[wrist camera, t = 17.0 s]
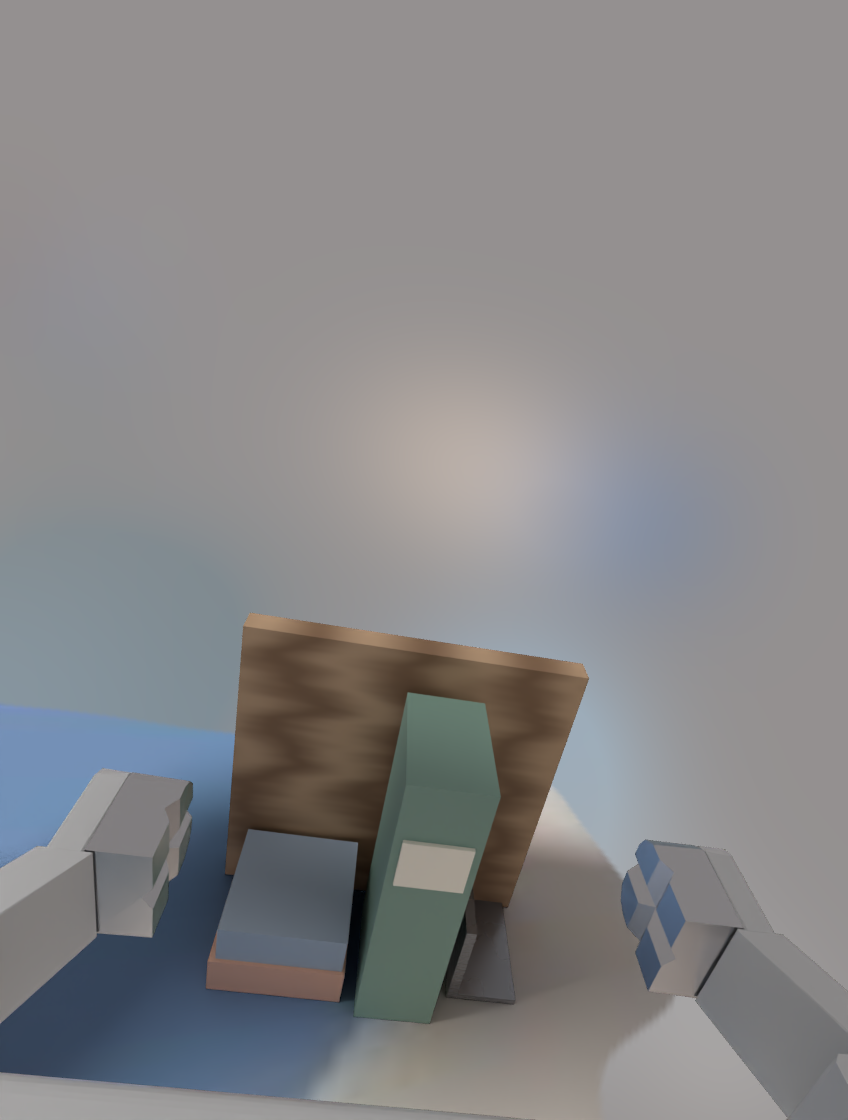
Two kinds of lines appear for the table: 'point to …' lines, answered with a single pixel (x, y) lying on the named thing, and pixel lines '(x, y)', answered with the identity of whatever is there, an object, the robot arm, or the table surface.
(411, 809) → the green book
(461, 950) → the bookend
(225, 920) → the book stack
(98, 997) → the table surface
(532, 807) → the shelf wall
